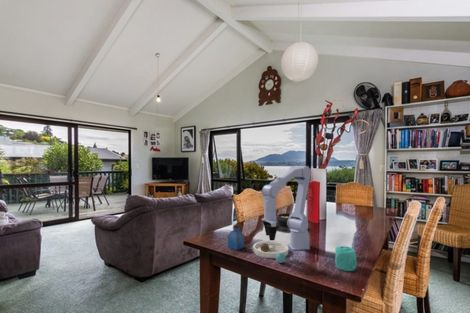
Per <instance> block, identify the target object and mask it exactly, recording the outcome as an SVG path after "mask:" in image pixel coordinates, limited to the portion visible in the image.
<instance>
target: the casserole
mask: <svg viewBox="0 0 470 313" xmlns="http://www.w3.org/2000/svg"><path fill="white" fill-rule="evenodd" d="M290 214H291V213H279V214H277V215H276V219H277V220H276V226H279V228H278V230H283V231H291V230H290V228H289V227H288V225H287V222H288V219H289V216H290ZM296 218H298V217H296ZM298 219H301V218H298Z"/></svg>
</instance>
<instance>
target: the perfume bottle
mask: <svg viewBox="0 0 470 313" xmlns="http://www.w3.org/2000/svg"><path fill="white" fill-rule="evenodd" d="M227 248H228V249H231V250H235V251H238V250H241V249H243V248H245V235H244V233H243V231H242V230H240V224H232V230H231V231H230V232H229V233H228V236H227Z"/></svg>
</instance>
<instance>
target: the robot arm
mask: <svg viewBox="0 0 470 313" xmlns="http://www.w3.org/2000/svg"><path fill="white" fill-rule="evenodd" d="M311 174H312V171H311V169H310V166H308V165H292V166H290V167H289V168H288V171H287V172H285V174H284V175H282V176H277V177H275V179H274V180H273V181H271V182H270V183H269V184H265V185H264V186H263V187H262V190H261V195H262V196H263V197H262V198H263V200H264V203H263V204H264V205H263V207H264V209H263V210H264V211H263V214H264V215H263V218H261V220H262V224H263V227H264V232H265V235H266V236H268V237H269V241H275V239H276V235H277V232H278V230H279V229H278V228H279V226H276V223H277V219H276V218H277V197H278V196H279V193H280V192H281V190H283V189H284V188H285V187H286V186H287V183H288V182H290V181H291V180H293V179H294V181H296V182H297V184H298V186H297V191H296V198H295V204H294V210H293V211H292V212H291V213H289V214H290V216H289V219H288V222H287V225H288V227H289V228H290V230H289V231H290V243H288V245H287V246H288V247H289V248H290V249H291V250H292V251H301V250H302V251H303V250H311V247H310V233H309V231H308V228H309V224H308V220H309V218H308V216H306V215H305V208H306V202H307V197H308V196H307V195H308V190H309V184H310V183H309V182H310V181H311ZM296 217H298V218H300V219H298V218H296Z"/></svg>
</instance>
